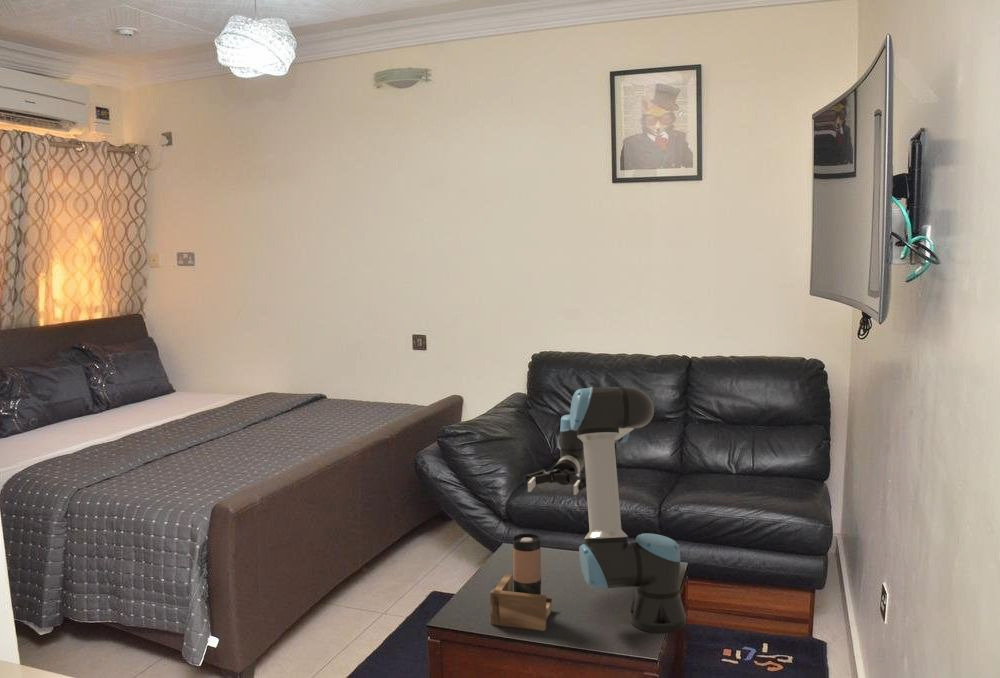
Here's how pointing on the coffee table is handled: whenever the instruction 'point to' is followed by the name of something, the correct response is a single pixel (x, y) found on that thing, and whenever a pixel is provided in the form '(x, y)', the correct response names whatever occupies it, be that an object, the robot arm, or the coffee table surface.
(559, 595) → the coffee table surface
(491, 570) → the coffee table surface
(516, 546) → the travel mug
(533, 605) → the wooden holder
